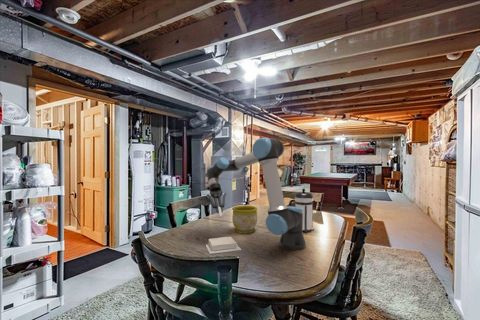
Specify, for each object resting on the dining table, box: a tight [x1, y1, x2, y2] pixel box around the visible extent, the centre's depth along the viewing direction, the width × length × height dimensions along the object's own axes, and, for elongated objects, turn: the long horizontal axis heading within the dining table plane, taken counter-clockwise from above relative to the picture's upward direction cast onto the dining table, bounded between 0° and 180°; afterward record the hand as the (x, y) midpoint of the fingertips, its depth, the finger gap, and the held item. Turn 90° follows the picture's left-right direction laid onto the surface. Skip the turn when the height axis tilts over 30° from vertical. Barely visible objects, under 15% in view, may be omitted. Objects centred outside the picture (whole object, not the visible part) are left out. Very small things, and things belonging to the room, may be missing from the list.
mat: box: [205, 243, 242, 255], centre depth 143 cm, size 14×18×1 cm
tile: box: [207, 236, 238, 251], centre depth 145 cm, size 3×14×12 cm
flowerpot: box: [231, 205, 258, 234], centre depth 176 cm, size 18×18×16 cm
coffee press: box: [288, 188, 315, 234], centre depth 177 cm, size 17×16×30 cm
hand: (220, 217), depth 150 cm, fingers closed
